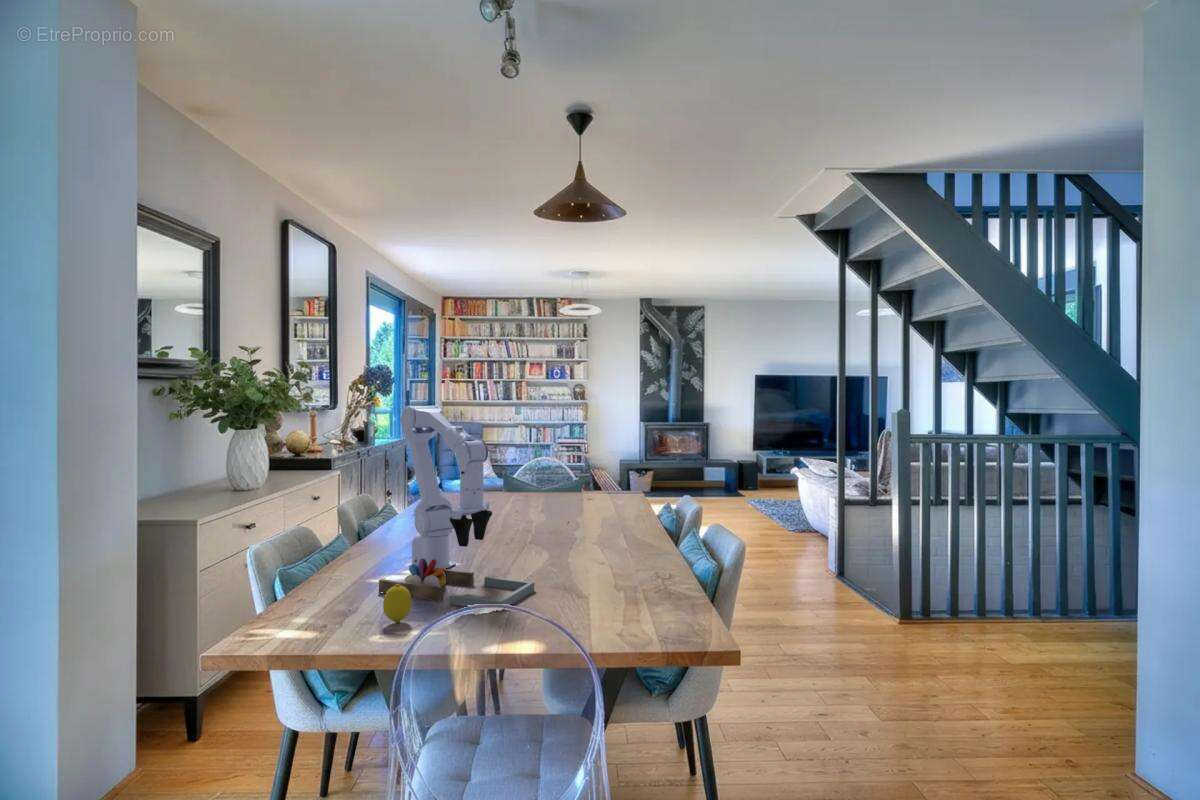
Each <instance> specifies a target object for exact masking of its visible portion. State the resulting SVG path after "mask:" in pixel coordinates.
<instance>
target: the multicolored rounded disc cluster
mask: <svg viewBox="0 0 1200 800" xmlns="http://www.w3.org/2000/svg"><path fill="white" fill-rule="evenodd" d="M435 565H436V560H435V559H433V560H432V561H431V562H430V564H429V565H428V566H427V562H426V560H425V559H423V558H422V559H420V561H419V567H418V566H417V565H414V564H412V563H411V564H409V566H408V570H409V573H410V574H409V575H407V576H406V577H405V578H404V582H409V583H417V584H425V585H432V586H440V587H444V586H445V585H446V583H447V582H446V575H445V573H444V571H445V568H444V567H441V568H439V569H436V570H434V568H435Z"/></svg>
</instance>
